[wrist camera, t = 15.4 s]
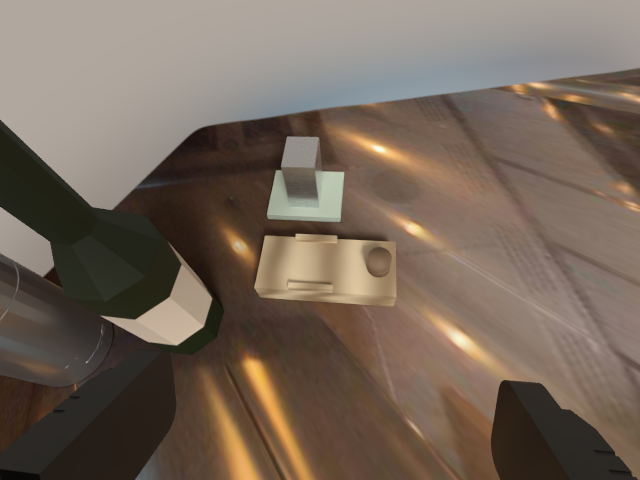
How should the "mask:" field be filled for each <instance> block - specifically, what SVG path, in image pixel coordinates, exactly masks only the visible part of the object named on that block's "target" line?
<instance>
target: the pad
mask: <svg viewBox="0 0 640 480" xmlns="http://www.w3.org/2000/svg"><path fill="white" fill-rule="evenodd" d="M322 176H323V183H322V191H321V199H320V207H319V208H306V207H290V203H289V198H288V194H287V190H286V186H285V182H284V177H283V173H282V170H276V173H275V178H274V183H273V188H272V192H271V197H270V202H269V207H268V211H267V217H268V219H281V220H304V221H328V222H340V219H341V207H342V195H343V183H344V172H322Z"/></svg>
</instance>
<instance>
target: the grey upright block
mask: <svg viewBox="0 0 640 480" xmlns="http://www.w3.org/2000/svg"><path fill="white" fill-rule="evenodd" d="M281 169H282V173H283V177H284V182H285V186H286V190H287V194H288V198H289V203H290V207H306V208H319V207H320V199H321V191H322V183H323V176H322V165H321V155H320V144H319V137H287V140H286V145H285V149H284V154H283V159H282V164H281Z"/></svg>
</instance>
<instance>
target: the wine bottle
mask: <svg viewBox="0 0 640 480" xmlns="http://www.w3.org/2000/svg"><path fill="white" fill-rule="evenodd" d="M0 207H1V208H3V209H4V210H6V211H7V212H9V213H10V214H12V215H13V216H14V217H16V218H17V219H19V220H20V221H21V222H23V223H25V224H26V225H27V226H29V227H30V228H31V229H33V230H34V231H36V232H37V233H38V234H40V235H42V236H43V237H44V238H46V239H47V240H48V241H50V244H51V249H52V255H53V260H54V266H55V269H56V272H57V274H58V277H59V280H60V282H61V285H62V287H63V290H64V292H65V295H66V297H67V298H68V299H70V300H72V301H74V302H76V303H78V304H79V305H81V306H83V307H85V308H87V309H89V310H90V311H92V312H94V313H96V314H98V315H100V316H101V317H103V318H105V319H107V320H109V321H111V322H112V323H114V324H116V325H118V326H120V327H122V328H123V329H125V330H127V331H129V332H131V333H133V334H134V335H136V336H138V337H140V338H142V339H144V340H145V341H147V342H149V343H151V344H153V345H155V346H156V347H158V348H160V349H162V350H164V351H167V352H173V353H181V354H189V355H193V354H194V353H195V352H197V351H198V350H200V349H201V348H202V347H204V346H205V345H207V344H208V343H209V342H211V341H212V340H214V339H215V338H216V337H217V334H218V330H219V327H220V323H221V319H222V316H223V312H224V311H223V309H222V308H221V306H220V304H219V303H218V301H217V300H216V298H215V297H214V295H213V294H212V292H211V291H210V290H209V289H208V287H207V286H206V285H205V284H204V283H203V282H202V280H201V279H200V278H199V277H198V276H197V275H196V273H195V272H194V271H193V270H192V269H191V268H190V266H189V265H188V264H187V263H186V262H185V261H184V260H183V258H182V257H181V256H180V255H179V254H178V253H177V251H176V250H175V249H174V248H173V247H172V246H171V244H170V243H169V242H168V241H167V240H166V239H165V237H164V236H163V235H162V234H161V233H160V232H159V231H158V229H157V228H156V227H155V226H154V225H153V224H152V222H151V221H150V220H149V219H148V218H147V217H146V215H139V214H133V213H126V212H120V211H113V210H106V209H99V208H93V207H91V206H90V205H89V204H88V203H87V202H86V201H85V200H84V199H83V198H82V197H81V196H80V195H79V194H78V193H76V192H75V190H73V189H72V188H71V187H70V186H69V185H68V184H67V183H66V182H65V181H64V180H63V179H62V178H61V177H60V176H59V175H58V174H57V173H55V171H53V170H52V169H51V168H50V167H49V166H48V165H47V164H46V163H45V162H44V161H43V160H42V159H41V158H40V157H39V156H38V155H37V154H36V153H35V152H34V151H32V150H31V149H30V148H29V147H28V146H27V145H26V144H25V143H24V142H23V141H22V140H21V139H20V138H19V137H18V136H17V135H16V134H15V133H13V132H12V131H11V130H10V129H9V128H8V127H7V126H6V125H5V124H4V123H3V122H2V121H1V120H0Z"/></svg>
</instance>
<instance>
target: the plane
mask: <svg viewBox="0 0 640 480" xmlns="http://www.w3.org/2000/svg"><path fill="white" fill-rule="evenodd" d="M254 288H255V289H256V291H257V293H258V295H259V296H260V297H262V298H276V299H291V300H306V301H321V302H335V303H350V304H365V305H379V306H394V303H395V299H396V242H386V241H366V240H345V239H337V236H333V235H312V234H296V237H283V236H265V239H264V244H263V249H262V253H261V258H260V263H259V268H258V273H257V278H256V283H255V287H254Z"/></svg>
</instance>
